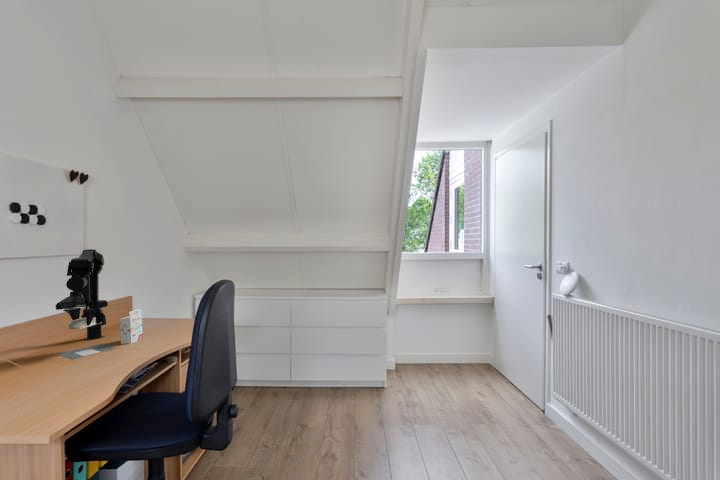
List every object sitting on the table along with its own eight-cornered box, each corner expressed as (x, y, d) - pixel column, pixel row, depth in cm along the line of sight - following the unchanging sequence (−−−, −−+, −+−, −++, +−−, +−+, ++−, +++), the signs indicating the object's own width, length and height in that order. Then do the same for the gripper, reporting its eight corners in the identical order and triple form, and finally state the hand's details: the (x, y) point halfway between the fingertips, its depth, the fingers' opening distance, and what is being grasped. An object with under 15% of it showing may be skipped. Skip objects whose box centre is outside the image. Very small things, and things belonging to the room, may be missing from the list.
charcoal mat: (55, 355, 148) (55, 353, 148) (100, 344, 161) (100, 343, 161) (72, 360, 140) (72, 359, 140) (117, 349, 154) (117, 347, 154)
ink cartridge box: (132, 339, 169) (131, 308, 169) (143, 339, 169) (142, 308, 169) (120, 345, 160) (119, 312, 160) (131, 344, 160) (130, 311, 160)
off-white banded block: (68, 329, 148) (68, 321, 148) (84, 324, 156) (84, 317, 156) (80, 329, 148) (80, 321, 148) (95, 324, 156) (95, 316, 156)
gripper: (42, 291, 144) (43, 330, 144) (86, 290, 143) (88, 329, 143) (66, 287, 155) (67, 323, 155) (108, 286, 154) (109, 323, 154)
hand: (82, 325), depth 152 cm, fingers closed on off-white banded block, 5 cm apart
